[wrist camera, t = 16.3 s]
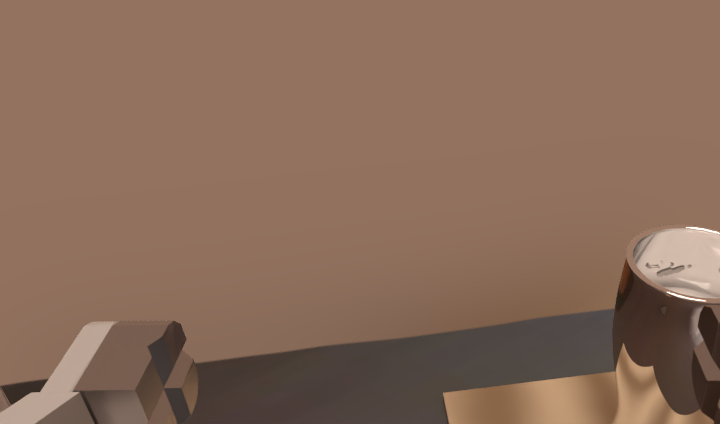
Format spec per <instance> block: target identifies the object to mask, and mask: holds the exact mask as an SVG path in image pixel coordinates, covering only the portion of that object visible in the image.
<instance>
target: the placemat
mask: <svg viewBox="0 0 720 424" xmlns="http://www.w3.org/2000/svg"><path fill="white" fill-rule="evenodd" d="M443 398H444V403H445V408H446V413H447V418H448V423H449V424H611V422H612V420H613V418H614V415H615V412H616V408H617V386H616V378H615V372H607V373H599V374H591V375H583V376H575V377H567V378H559V379H551V380H543V381H535V382H527V383H519V384H511V385H503V386H495V387H487V388H479V389H471V390H463V391H455V392H447V393H443Z"/></svg>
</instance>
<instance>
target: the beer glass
mask: <svg viewBox="0 0 720 424" xmlns="http://www.w3.org/2000/svg"><path fill="white" fill-rule="evenodd" d="M704 305H720V231H719V230H716V229H712V228H708V227H702V226H696V225H666V226H660V227H655V228H652V229H649V230H646V231H644V232H642V233H640V234H639V235H637V236H636V237H635V238H633V239H632V241H631V242H630V243H629V245H628V247H627V251H626V259H625V263H624V267H623V271H622V275H621V279H620V283H619V287H618V292H617V297H616V304H615V309H614V317H613V329H612V339H613V359H614V369H615V378H616V386H617V408H616V412H615V415H614V418H613V420H612V422H611V424H714V421H713V420H712V419H710V418H709V417H708V416H706V415H705V414H704V413H702V412H701V410H700V407H699V404H698V402H697V399H696V396H695V392H694V388H693V383H692V368H691V365H692V358H693V350H694V348H695V347H697V346H698V345H699V344H700V343H701V342H702V341H703V338H702V335H701V333H700V331H699V329H698V321H699V316H700V312H701V310H702V308H703V307H704Z"/></svg>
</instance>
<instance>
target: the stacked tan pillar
mask: <svg viewBox="0 0 720 424" xmlns="http://www.w3.org/2000/svg"><path fill="white" fill-rule="evenodd" d="M10 406H11V405H10V403H9V401H8V399H7V398H6V396H5V394H4V392H3V390H2V389H1V387H0V413H1V412H2V411H4V410H5V409H7V408H8V407H10Z"/></svg>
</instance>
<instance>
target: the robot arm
mask: <svg viewBox="0 0 720 424" xmlns="http://www.w3.org/2000/svg"><path fill="white" fill-rule="evenodd" d="M698 329H699V331H700V333H701V335H702V338H703V341H702V342H701V343H700V344H699V345H698V346H697V347H695V348H694V350H693V358H692V365H691V368H692V383H693V388H694V392H695V396H696V399H697V402H698V404H699V407H700V410H701V412H702V413H704V414H705V415H706V416H708V417H709V418H710V419H712V420H713V421H714V424H720V305H704V307H703V308H702V310H701V312H700V316H699V321H698ZM185 341H186V336H185V334H184V332H183V329H182V326H181V324H180V323H178V322H176V321H119V322H91V323H89V324H87V325H85V326H84V327H83V328H82V330H81V331H80V333H79V334H78V336H77V338H76V339H75V340H74V342H73V343H72V345H71V346H70V348H69V350H68V351H67V353H66V354H65V355H64V357H63V359H62V360H61V361H60V363H59V365H58V366H57V368H56V369H55V371H54V372H53V374H52V375H51V377H50V378H49V380H48V381H47V383H46V384H45V386H44V387H43V389H42V390H41V392H37V393H30V394H28V395H27V396H25V397H24V398H22V399H21V400H19V401H18V402H16V403H15V404H13V405H12V406H10V407H8V408H7V409H5V410H4V411H2V412H1V413H0V424H181V423H183V422H184V421H185V420H186V419H187V418H189V417H190V416H191V414H192V412H193V409H194V406H195V404H196V400H197V392H198V376H197V369H196V366H195V363H194V360H193V359H192V358H191V357H190V356H189V355H188V354H186V353H185V352H184V351H183V350H182V348H183V346H184V344H185Z"/></svg>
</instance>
